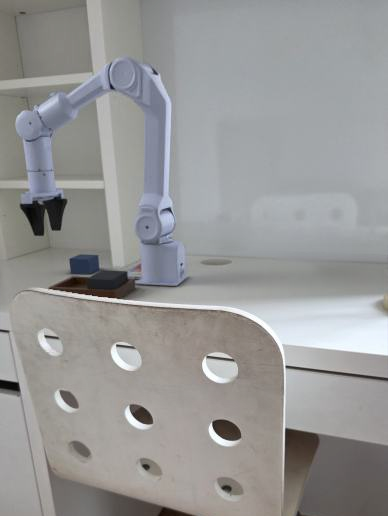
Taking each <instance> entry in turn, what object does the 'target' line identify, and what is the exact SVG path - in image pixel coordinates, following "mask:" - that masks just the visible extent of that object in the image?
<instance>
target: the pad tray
mask: <svg viewBox="0 0 388 516" xmlns="http://www.w3.org/2000/svg"><path fill="white" fill-rule="evenodd" d="M89 277H90V276H81V275H80V276H79V275H76V276H75V275H71V276H69V277H68V278H66V279H64V280H61V281H59V282H57V283H55V284H53V285H50V286H49V287H48V290H49V289H53V290H60V291H66V292H72V293H78V294H85V295H92V296H98V297H108V298H117V299H119V300H121V299H122V298H123V297H125V296H127V295H128V294H129V293H131V292H133V291H134V290H135V289H136V281H135V280H136V279H128V281H127V282H126V283H124V284H122V285H121V286H119V287H117V288H116V289H114V290H103V289H87V280H86V279H87V278H89Z"/></svg>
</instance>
